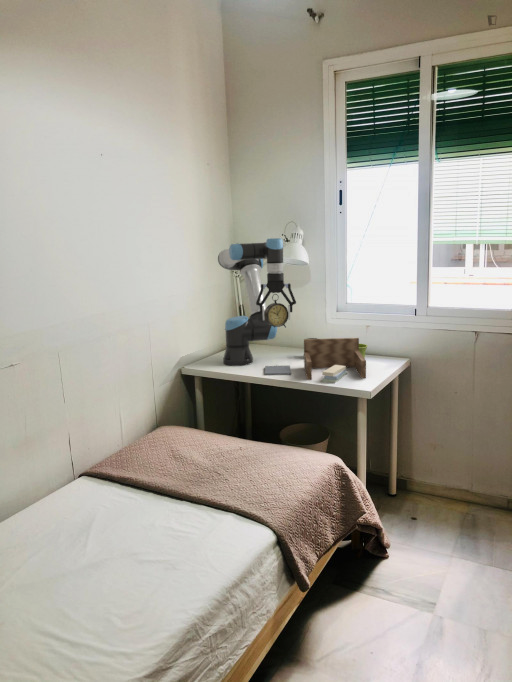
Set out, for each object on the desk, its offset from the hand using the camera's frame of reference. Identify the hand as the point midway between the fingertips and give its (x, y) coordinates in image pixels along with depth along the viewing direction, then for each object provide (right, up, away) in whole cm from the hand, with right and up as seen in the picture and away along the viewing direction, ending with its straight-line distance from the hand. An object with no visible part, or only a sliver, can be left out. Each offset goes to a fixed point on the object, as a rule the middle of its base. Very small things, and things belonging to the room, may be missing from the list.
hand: (276, 319), depth 247 cm
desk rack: (+27, -25, -1) cm, 36 cm away
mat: (+1, -24, +5) cm, 25 cm away
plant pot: (+41, -21, +16) cm, 49 cm away
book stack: (+26, -27, -9) cm, 38 cm away
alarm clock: (0, -4, +1) cm, 4 cm away
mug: (+21, -19, +29) cm, 41 cm away
